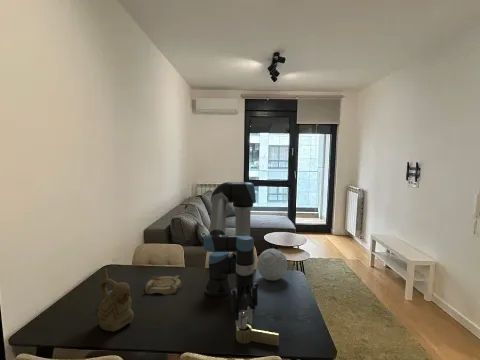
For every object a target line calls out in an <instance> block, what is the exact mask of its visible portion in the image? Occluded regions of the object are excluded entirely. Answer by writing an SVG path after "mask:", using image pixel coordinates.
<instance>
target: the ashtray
mask: <svg viewBox="0 0 480 360" xmlns="http://www.w3.org/2000/svg"><path fill="white" fill-rule="evenodd" d="M181 280H182V277H181V275H179V274H176V275H175V276H169V275H167V276H166V275H164V276H157V275H154V276H150V280H148V281H147V283H146V284H145V285H144V287H145V288H144V292H145V293H146V294H147V295H153V294H162V295H163V296H164V295H171V294H176V293H178V292H179V291H180V290H181V289H182V288H183V282H182V281H181Z"/></svg>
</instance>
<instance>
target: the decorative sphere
mask: <svg viewBox="0 0 480 360" xmlns="http://www.w3.org/2000/svg"><path fill="white" fill-rule="evenodd" d="M288 267H289V266H288V259H287V257H286V256H285V254H284V253H283V252H282V251H280V250H279V249H276V248H268V249H265V250H264V251H262V252H261V253H260V254H259V255H258V258H257V261H256V269H257V271H258V274H259V275H260V276H261V277H262V278H263V279H265V280H268V281H272V282H273V281H278V280H280V279H282V278H283V277H284V276H285V275H286V273H287V271H288Z"/></svg>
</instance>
